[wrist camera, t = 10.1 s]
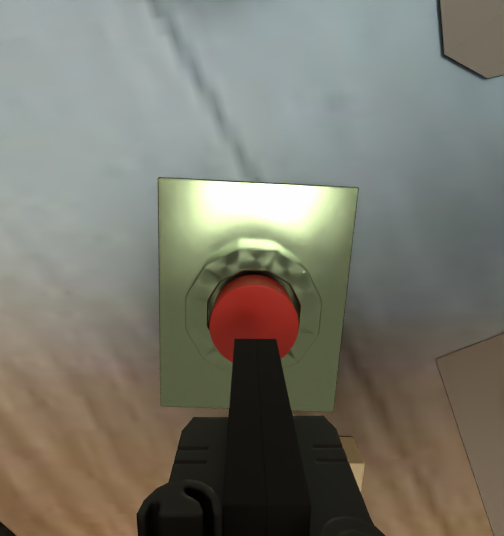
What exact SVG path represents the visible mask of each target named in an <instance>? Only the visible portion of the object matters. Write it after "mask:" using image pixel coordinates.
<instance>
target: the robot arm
mask: <svg viewBox="0 0 504 536" xmlns="http://www.w3.org/2000/svg"><path fill="white" fill-rule="evenodd" d="M137 526H138V536H385V535H384V534H383V533H382V532H381V531H380V530H379V529H378V528H377V527H375V526H374V524H373V522H372V520H371V518H370V516H369V513H368V511H367V508H366V505H365V503H364V500H363V498H362V495H361V492H360V490H359V487H358V485H357V482H356V479H355V477H354V474H353V472H352V469H351V466H350V464H349V462H348V460H347V456H346V453H345V451H344V448H342V443H341V440H340V438H339V435H338V432H337V430H336V428H335V427H334V426H333V425H332V424H331V423H330V422H329V421H328V420H327V419H326V418H325V417H324V416H292V411H291V406H290V401H289V397H288V392H287V387H286V382H285V378H284V373H283V368H282V363H281V359H280V354H279V349H278V344H277V340H276V339H234V351H233V365H232V378H231V392H230V405H229V417H193V419H192V420H191V421H190V422H189V423H188V425H187V426H186V427H185V428H184V429H183V430H182V433H181V437H180V441H179V445H178V450H177V452H176V456H175V460H174V464H173V467H172V471H171V475H170V479H169V483H167V484H165V485H163V486H161V487H159V488H157V489H156V490H155V491H153V492H152V493H151V494H150V495H149V496H148V497H147V498H146V499H145V500H144V502H143V504H142V505H141V507H140V509H139V511H138V513H137Z"/></svg>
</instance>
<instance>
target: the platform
mask: <svg viewBox="0 0 504 536" xmlns="http://www.w3.org/2000/svg"><path fill="white" fill-rule="evenodd" d="M436 362H437V365H438V368H439V371H440V374H441V377H442V380H443V383H444V386H445V389H446V392H447V395H448V398H449V401H450V404H451V407H452V410H453V413H454V416H455V419H456V422H457V425H458V428H459V431H460V434H461V437H462V440H463V443H464V446H465V449H466V452H467V455H468V458H469V461H470V464H471V467H472V470H473V473H474V476H475V479H476V482H477V485H478V488H479V491H480V494H481V497H482V500H483V503H484V506H485V509H486V512H487V515H488V518H489V521H490V524H491V527H492V531H493V534H494V536H504V333H503V334H500V335H498V336H495V337H493V338H490V339H487V340H485V341H482V342H480V343H477V344H474V345H472V346H469V347H466V348H464V349H461V350H459V351H456V352H453V353H451V354H448V355H445V356H443V357H440V358H438V359H436Z"/></svg>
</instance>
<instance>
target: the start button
mask: <svg viewBox="0 0 504 536" xmlns="http://www.w3.org/2000/svg"><path fill="white" fill-rule="evenodd" d="M209 329H210V335H211V339H212V342H213V344H214V346H215V347H216V349H217V350H218V351H219V352H220V354H221V355H222V356H224V357H225V358H226V359H227V360H229V361H230V362H232V363H233V351H234V339H276V340H277V344H278V349H279V354H280V359H282V358H283V357H284V356H285V355H286V354H287V353H288V352H289V351H290V350H291V348H292V347H293V345H294V343H295V341H296V339H297V335H298V330H299V321H298V315H297V312H296V310H295V307H294V305H293V302H292V300H291V298H290V296H289V294H288V292H287V291H286V290H285V288H284V287H283V286H282V285H281V284H280V283H278V282H277V281H275V280H273V279H272V278H269V277H267V276H263V275H256V274H254V275H244V276H241V277H238V278H236V279H234V280H232V281H230V282H229V283H228V284H226V285H225V286H224V287H223V288H222V289H221V291H220V292H219V294H218V295H217V297H216V300H215V303H214V306H213V309H212V313H211V317H210V323H209Z"/></svg>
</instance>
